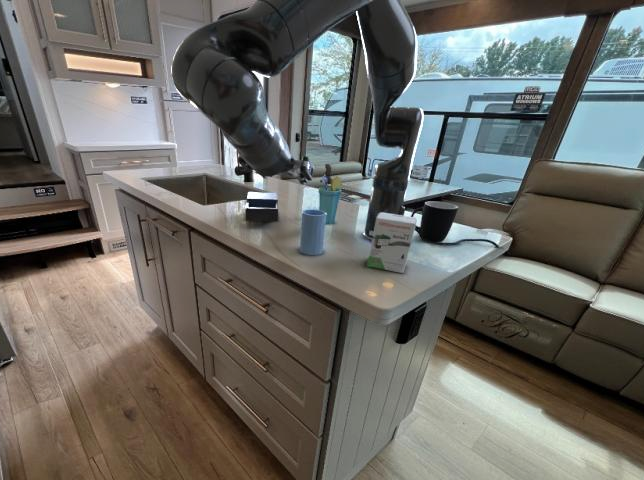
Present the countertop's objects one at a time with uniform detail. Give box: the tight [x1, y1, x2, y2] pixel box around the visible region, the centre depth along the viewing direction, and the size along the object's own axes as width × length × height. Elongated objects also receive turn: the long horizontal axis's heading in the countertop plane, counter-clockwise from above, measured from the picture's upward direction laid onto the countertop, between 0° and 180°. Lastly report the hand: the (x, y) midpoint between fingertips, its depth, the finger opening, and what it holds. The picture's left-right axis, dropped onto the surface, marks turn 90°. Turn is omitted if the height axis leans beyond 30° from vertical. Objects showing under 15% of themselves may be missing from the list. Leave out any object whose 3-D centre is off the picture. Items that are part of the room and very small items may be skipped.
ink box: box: [366, 213, 418, 274], centre depth 72 cm, size 9×5×12 cm, turn 69°
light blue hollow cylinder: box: [299, 209, 326, 256], centre depth 79 cm, size 6×6×10 cm
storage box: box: [245, 191, 279, 222], centre depth 103 cm, size 10×19×7 cm, turn 3°
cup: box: [318, 176, 343, 225], centre depth 102 cm, size 14×8×15 cm, turn 151°
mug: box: [410, 200, 459, 243], centre depth 93 cm, size 12×9×10 cm
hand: (285, 177), depth 68 cm, fingers open, 8 cm apart
